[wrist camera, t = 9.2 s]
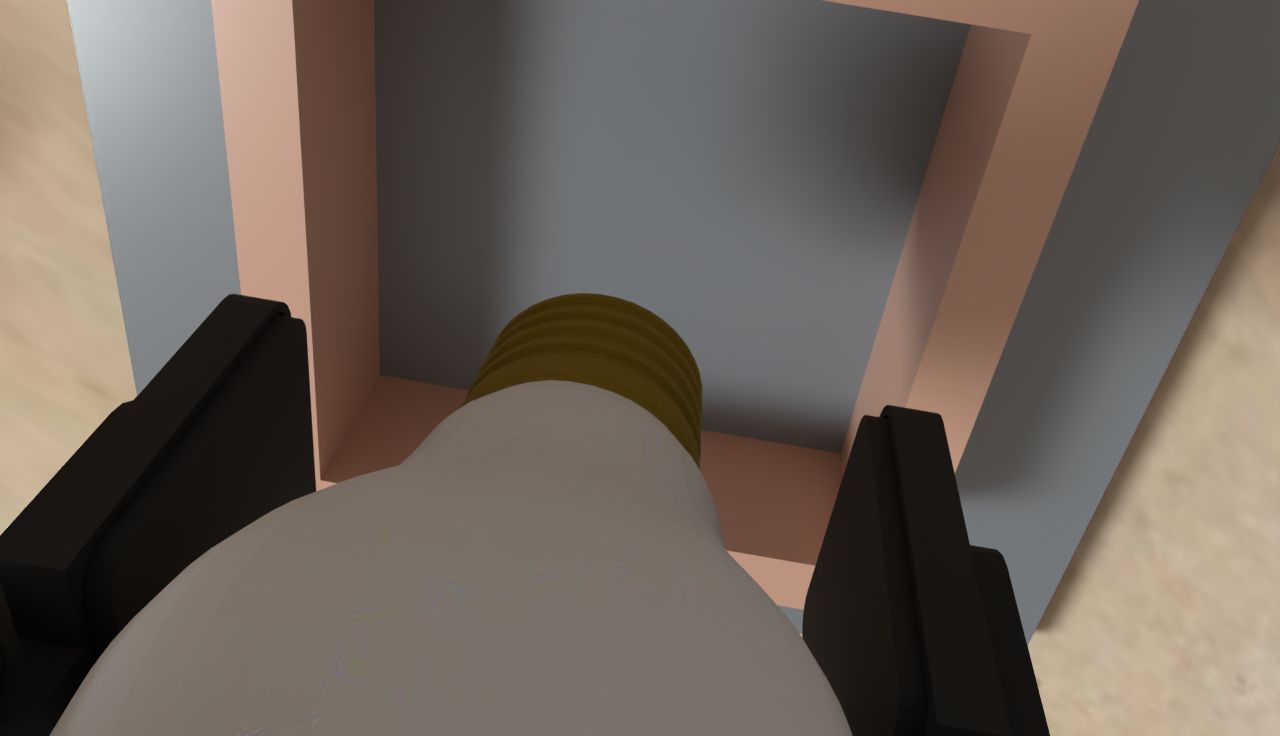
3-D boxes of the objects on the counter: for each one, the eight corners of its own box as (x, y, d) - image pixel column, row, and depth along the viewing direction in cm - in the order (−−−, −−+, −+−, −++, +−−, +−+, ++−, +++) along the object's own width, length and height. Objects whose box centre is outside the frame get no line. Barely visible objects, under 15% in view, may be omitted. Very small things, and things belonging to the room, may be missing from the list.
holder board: (4, -633, 13) (-271, -737, 9) (1504, -405, 12) (1771, -431, 9) (182, 490, 23) (80, 630, 19) (1006, 633, 22) (1045, 800, 19)
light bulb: (942, 344, 13) (1239, 1598, 4) (635, 588, 16) (467, 1625, 7) (559, 17, 11) (-104, 1039, 3) (295, 357, 14) (-422, 1359, 6)
